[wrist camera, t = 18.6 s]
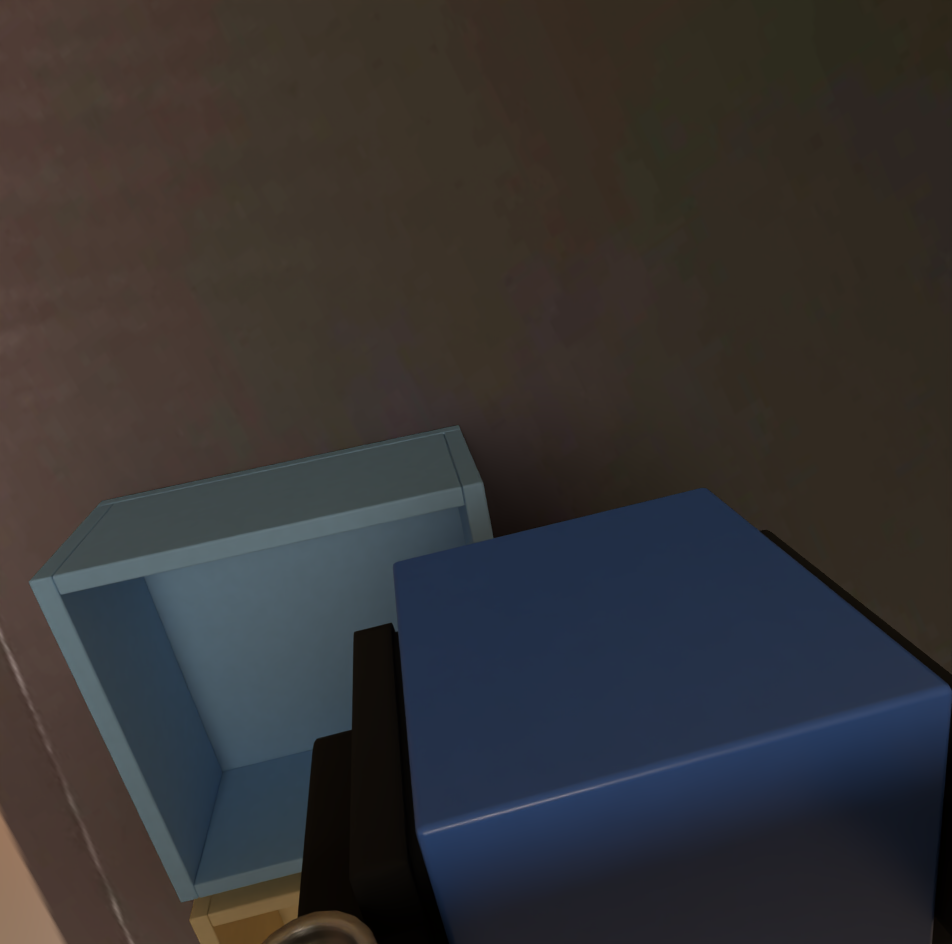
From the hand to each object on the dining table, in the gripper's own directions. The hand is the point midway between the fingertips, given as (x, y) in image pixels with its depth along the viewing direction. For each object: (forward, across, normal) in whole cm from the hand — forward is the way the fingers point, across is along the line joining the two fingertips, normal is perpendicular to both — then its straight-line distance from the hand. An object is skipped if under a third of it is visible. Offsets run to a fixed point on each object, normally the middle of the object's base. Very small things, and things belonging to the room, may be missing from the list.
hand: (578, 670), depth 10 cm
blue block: (0, 0, 0) cm, 0 cm away
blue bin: (+15, +6, +7) cm, 18 cm away
